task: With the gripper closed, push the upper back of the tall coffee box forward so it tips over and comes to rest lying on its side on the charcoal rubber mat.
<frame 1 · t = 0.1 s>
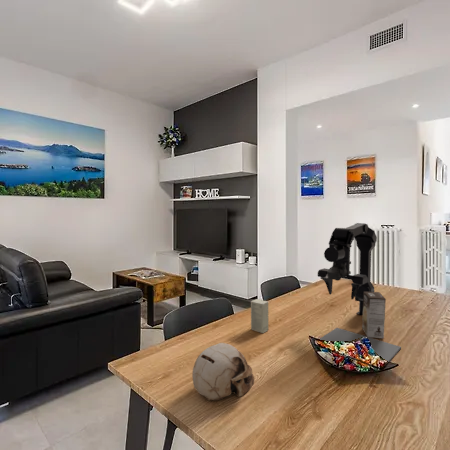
hand: (341, 296, 122), 15 cm above the table, fingers open, 9 cm apart
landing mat: (356, 346, 110), on the table
coin bank: (225, 388, 84), on the table
coffee box: (372, 333, 121), on the table
skincare box: (259, 330, 123), on the table
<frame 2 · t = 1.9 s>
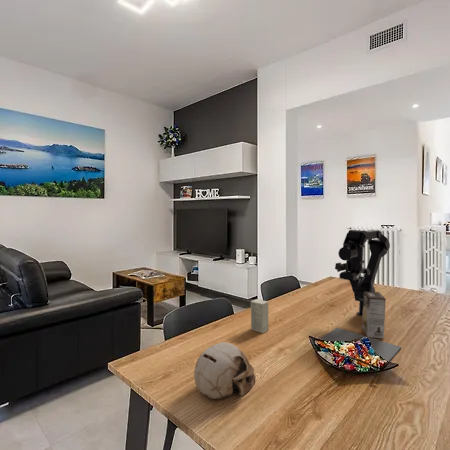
hand: (354, 292, 134), 13 cm above the table, fingers closed
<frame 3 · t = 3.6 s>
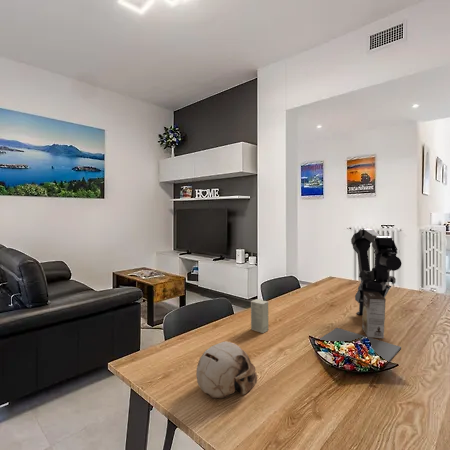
hand: (380, 302, 126), 11 cm above the table, fingers closed
coffee box: (372, 333, 121), on the table, touching gripper
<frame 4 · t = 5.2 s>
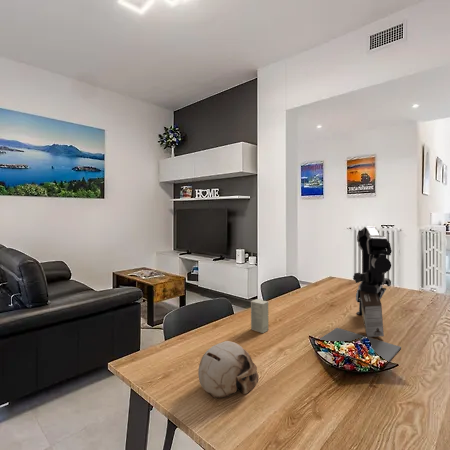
hand: (375, 305, 122), 11 cm above the table, fingers closed
coffee box: (373, 328, 121), point 2 cm above the table
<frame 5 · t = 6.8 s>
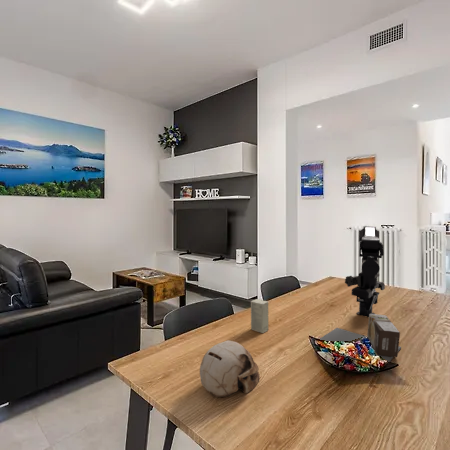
hand: (367, 310, 116), 11 cm above the table, fingers closed
coffee box: (376, 325, 116), point 5 cm above the table, touching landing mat
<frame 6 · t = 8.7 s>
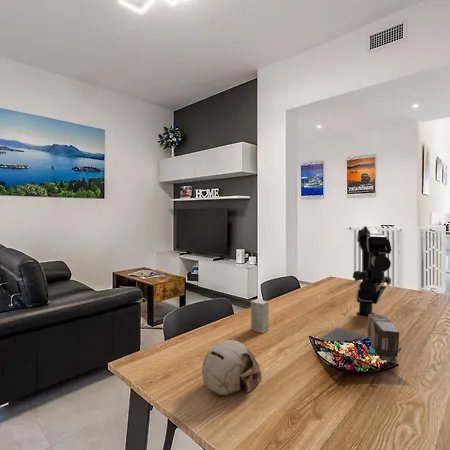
hand: (374, 303, 122), 12 cm above the table, fingers closed
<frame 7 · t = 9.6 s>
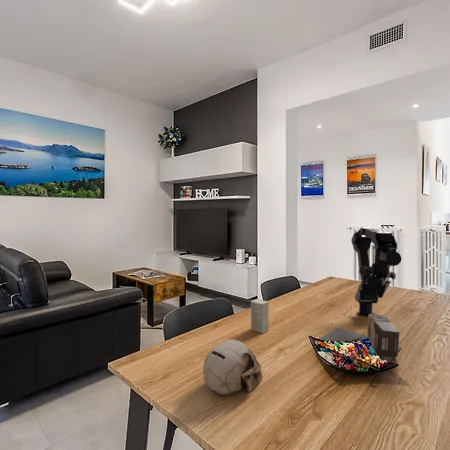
hand: (380, 297, 126), 13 cm above the table, fingers closed
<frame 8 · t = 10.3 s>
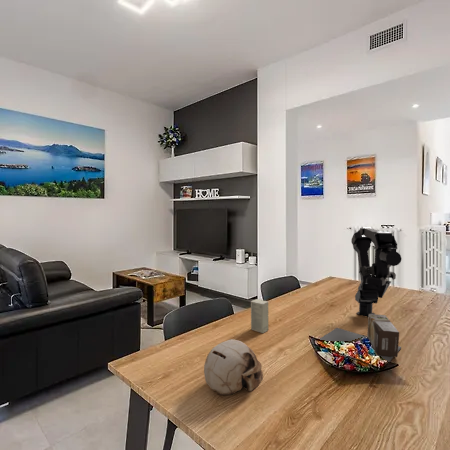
hand: (380, 297, 126), 13 cm above the table, fingers closed
at the end: coffee box tilted 89°; coffee box touching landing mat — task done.
